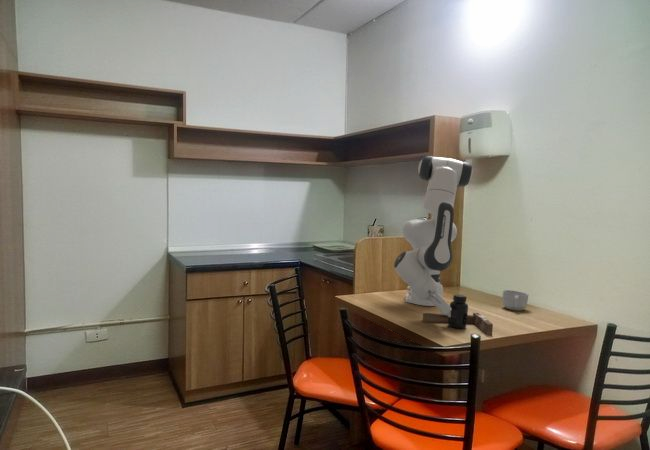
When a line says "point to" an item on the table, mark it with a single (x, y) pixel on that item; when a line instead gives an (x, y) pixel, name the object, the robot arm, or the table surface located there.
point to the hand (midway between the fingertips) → (450, 315)
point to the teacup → (514, 300)
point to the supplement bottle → (458, 312)
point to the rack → (471, 319)
